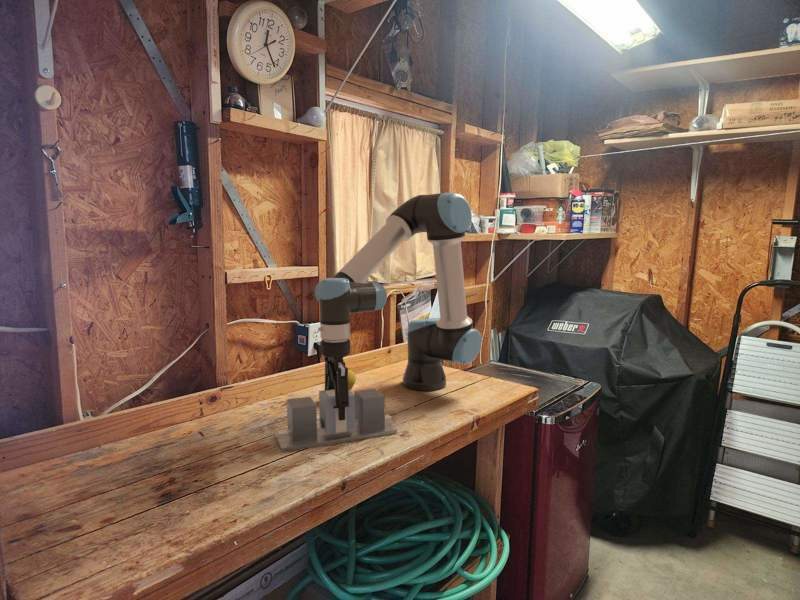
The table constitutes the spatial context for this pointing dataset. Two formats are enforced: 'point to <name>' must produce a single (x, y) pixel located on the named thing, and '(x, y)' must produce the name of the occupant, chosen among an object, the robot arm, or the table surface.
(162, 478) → the table surface
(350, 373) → the light bulb
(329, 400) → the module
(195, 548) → the table surface
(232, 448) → the table surface
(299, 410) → the grey block holder
